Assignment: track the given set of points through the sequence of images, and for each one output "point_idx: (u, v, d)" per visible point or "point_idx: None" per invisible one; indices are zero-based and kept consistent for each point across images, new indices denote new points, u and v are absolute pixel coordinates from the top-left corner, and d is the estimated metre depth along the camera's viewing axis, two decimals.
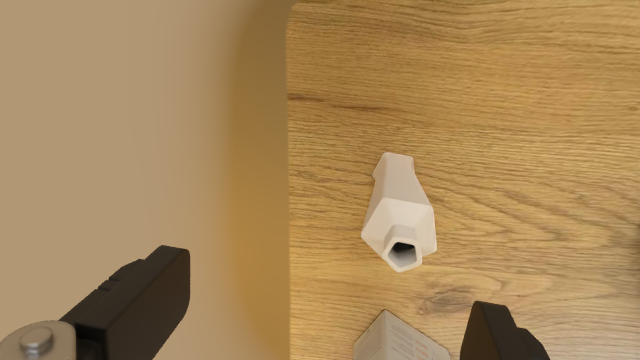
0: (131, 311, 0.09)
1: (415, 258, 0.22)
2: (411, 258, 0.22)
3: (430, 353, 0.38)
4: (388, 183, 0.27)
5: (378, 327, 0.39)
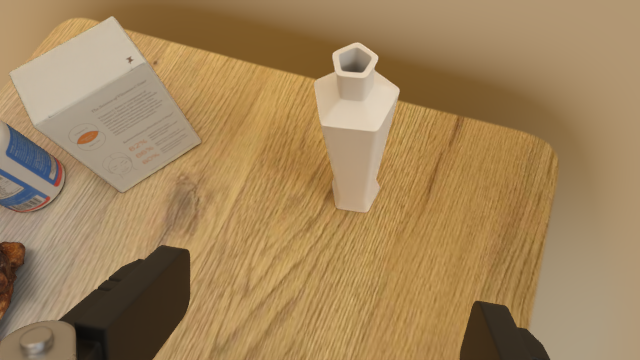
0: (131, 311, 0.09)
1: None
2: None
3: (135, 163, 0.32)
4: (389, 128, 0.24)
5: None
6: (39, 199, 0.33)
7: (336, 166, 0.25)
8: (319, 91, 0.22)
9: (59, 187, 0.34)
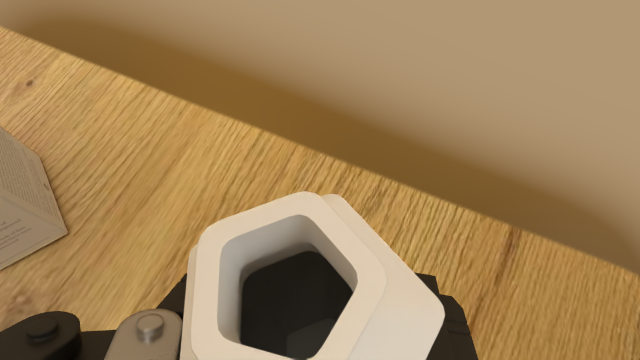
0: None
1: (229, 336, 0.04)
2: (229, 317, 0.05)
3: None
4: None
5: (40, 203, 0.19)
6: None
7: None
8: None
9: None
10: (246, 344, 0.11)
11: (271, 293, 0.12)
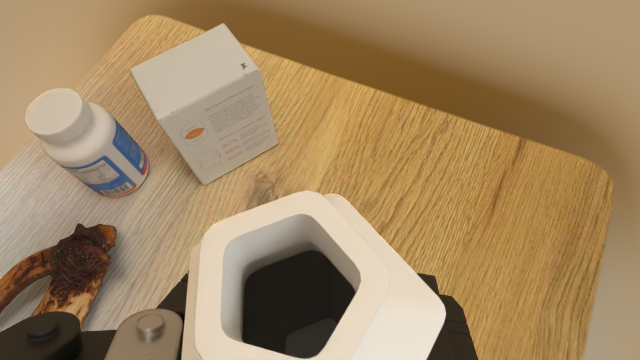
0: None
1: (232, 335, 0.04)
2: (232, 315, 0.05)
3: (222, 159, 0.34)
4: None
5: None
6: (128, 186, 0.35)
7: None
8: (196, 290, 0.07)
9: (144, 176, 0.36)
10: (246, 343, 0.11)
11: (271, 292, 0.12)
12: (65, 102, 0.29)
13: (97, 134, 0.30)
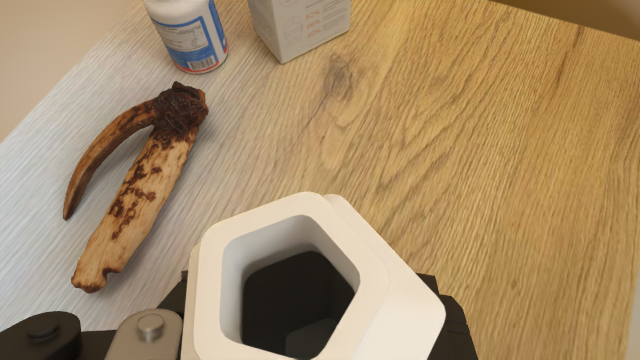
0: None
1: (231, 336, 0.04)
2: (231, 316, 0.05)
3: (303, 34, 0.37)
4: None
5: None
6: (212, 60, 0.37)
7: None
8: (196, 291, 0.07)
9: (225, 55, 0.38)
10: (246, 344, 0.11)
11: (271, 293, 0.12)
12: None
13: None
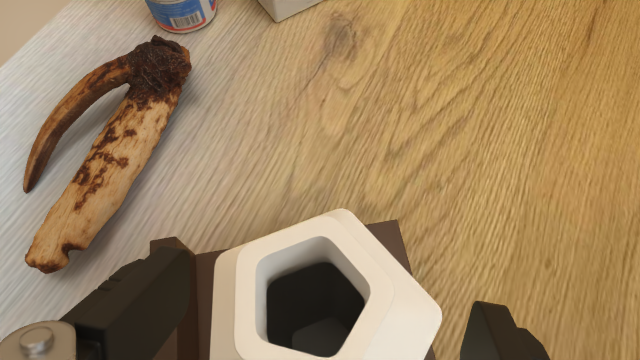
0: (131, 311, 0.09)
1: (264, 338, 0.05)
2: (261, 322, 0.06)
3: None
4: None
5: None
6: (198, 17, 0.33)
7: None
8: (222, 296, 0.08)
9: (213, 13, 0.34)
10: None
11: (281, 294, 0.12)
12: None
13: None
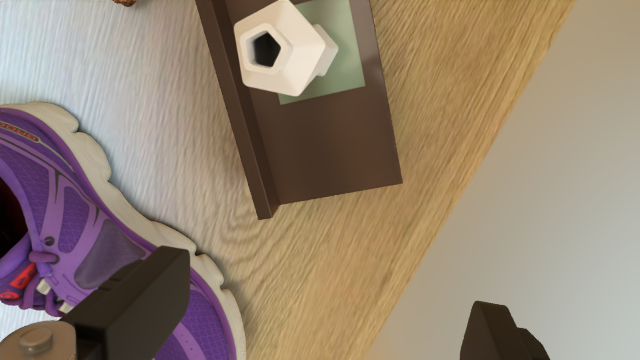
0: (131, 311, 0.09)
1: (252, 63, 0.18)
2: (251, 57, 0.18)
3: None
4: (326, 50, 0.23)
5: None
6: None
7: None
8: (239, 42, 0.20)
9: None
10: (264, 52, 0.24)
11: None
12: None
13: None
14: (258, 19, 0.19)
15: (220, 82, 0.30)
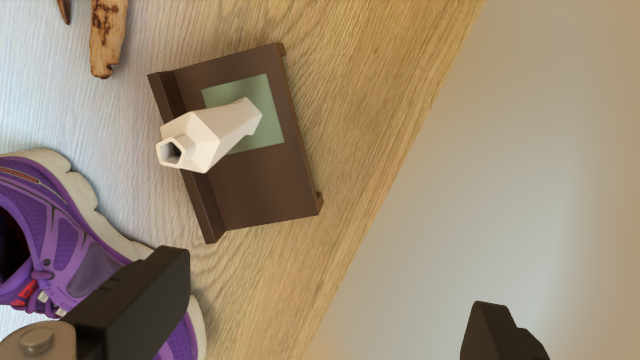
0: (131, 311, 0.09)
1: (165, 159, 0.28)
2: (166, 155, 0.28)
3: None
4: (232, 134, 0.32)
5: None
6: None
7: None
8: (163, 139, 0.30)
9: None
10: None
11: None
12: None
13: None
14: (174, 125, 0.29)
15: None
